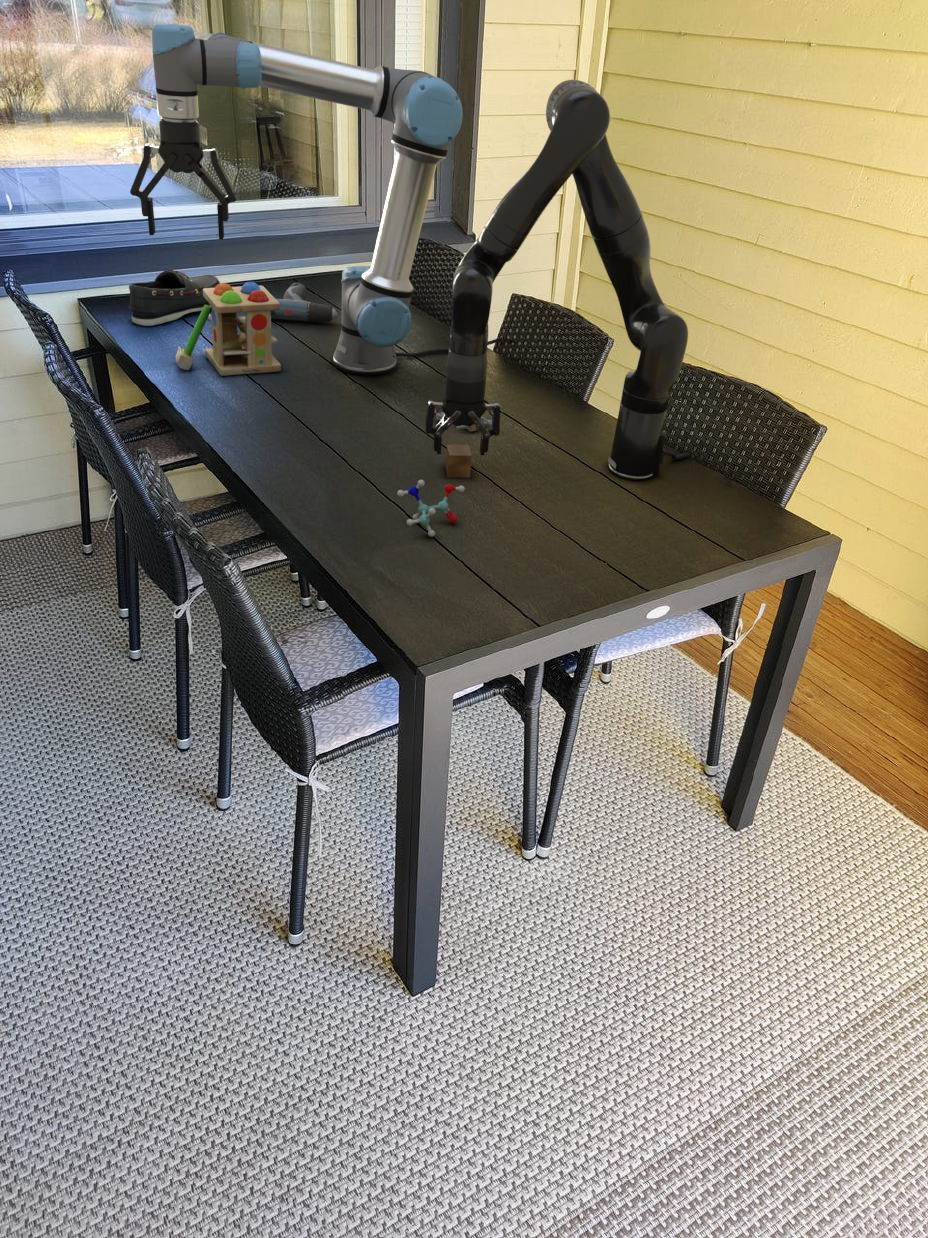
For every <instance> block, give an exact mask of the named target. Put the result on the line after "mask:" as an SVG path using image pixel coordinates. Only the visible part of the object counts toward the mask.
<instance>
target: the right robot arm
mask: <svg viewBox="0 0 928 1238" xmlns="http://www.w3.org/2000/svg"><path fill="white" fill-rule="evenodd" d="M545 119H546V124H547V127H548V129H549V131H550V132H549V134H548V137H547V139H546V141H545V143H544V145H543V147H542V149H541V151H540V152H539V154H538V156H537V157H536V159H535V161H534V162H533V163H532V165H530V167H529V169H527V171H526V172H525V173H524V174H523V176H522V177H521V178H519V180H518V181H517V182H516V183H514V185H513V186H512V187H511V188H510V189H509V190H508V191H507V192H506V194H505V195H504V196H503V197H502V198H501V200H500V201H499V203H498V204H497V206H495V209H494V210H493V212H492V213H491V215H490V217H489V218H488V220H487V222H486V223H485V225H484V227H483V228H482V230H481V232H480V234H479V236H478V238H477V239H476V240H475V242H473V244H472V246H471V247H470V248H469V249H468V251H466V253H465V255H464V256H463V257H462V259H461V260H460V262H459V263H458V265H457V267H456V268H455V270H454V273H453V278H452V295H451V296H452V297H451V298H452V300H451V318H452V319H451V324H450V328H449V329H450V330H449V341H448V342H449V343H448V348H449V352H447V359H446V365H445V384H444V385H445V386H444V387H445V388H444V398H443V401H442V402H438V401H434V400H433V399H429V400H428V401H427V403H426V404H427V405H426V414H425V421H424V422H425V423H424V429H425V433H426V434H428V435H430V434H431V435H433V450H434V452H436V455H442V442H443V436H442V435H443V434H444V433H445V432H446V431H447V430H448V429H450V428H451V427H452V425H454V426H455V427H457V426H462V425H464V426H471V425H474V424H475V425H476V429H477V430H478V431H479V432H480V433H481V434H480V443H479V454H480V456H485V455H486V454H487V453H488V451H489V445H490V438H491V437H494V436H495V437H497V436H499V435H500V433H501V431H500V428H501V407H500V403H499V402H498V401H494V402H492V403H485V398H486V397H485V396H486V383H487V371H488V346H489V345H488V341H489V321H490V313H491V307H492V300H493V299H492V298H493V289H494V287H493V285H494V283H495V280H496V278H497V277H498V275H499V274H500V273H501V271H502V270H503V268H504V266H505V265H506V264H507V263H508V262H510V261H511V260H512V259H513V258H514V257H515V256H516V254H517V253H518V251H519V250H520V249H521V247H522V245H523V244H524V242H525V241H526V239H527V238H528V236H529V234H530V233H531V231H532V230H533V228H534V226H535V225H536V223H537V222H538V220H539V219H540V217H541V216H542V215H543V212H544V211H545V210H546V208H547V207H548V206H549V204H550V203H551V202H552V200H553V199H554V197H555V196H556V195H557V194H558V192H559V191H560V190H561V188H562V187H563V186H564V185H565V183H566V182H567V181H568V180H569V178H571V176H572V177H573V180H574V184H575V187H576V190H577V194H578V199H579V201H580V205H581V208H582V211H583V214H584V216H585V220H586V223H587V226H588V229H589V233H590V236H591V237H592V240H593V242H594V245H595V248H596V250H597V253H598V256H599V258H600V260H601V262H602V265H603V267H604V270H605V272H606V275H607V276H608V279H609V281H610V283H611V285H612V288H613V290H614V291H615V294H616V297H617V301H618V303H619V308H620V312H621V315H622V319H623V324H624V328H625V331H626V334H627V337H628V339H629V341H630V343H631V344H632V345H633V346H634V347H635V348H636V349H637V350H638V351H639V352H640V353H639V358H638V361H637V366H636V369H633V370H630V371H628V372H627V373H626V375H625V377H624V381H623V387H622V393H621V398H620V405H619V408H618V409H619V410H618V415H617V421H616V425H615V430H614V436H613V442H612V448H611V453H610V456H608V460H607V463H608V466H607V467H608V470H609V471H610V473H611V474H613V475H615V476H617V477H618V478H621V479H625V480H631V481H645V480H651V478H658V474H659V470H660V465H663V463H664V458H665V456H670V457H671V459H672V460H674V461H679V460H683V459H686V458H689V457H690V453H689V452H683V453H679V454H676V453H675V452H674V451H672V450H666V449H665V448H664V446H665V441H666V437H667V432H666V431H665V430H664V427H665V423H666V417H667V414H668V413H667V412H668V407H669V403H670V398H671V394H672V390H673V387H674V386H675V384H676V383H677V381H678V379H679V377H680V373H681V369H682V365H683V362H684V359H685V354H686V351H687V346H688V341H689V328H688V323H687V322H686V320H685V319H684V318H683V317H681V316H680V315H679V314H678V313H676V312H675V311H673V310H672V309H670V308H669V307H668V306H667V305H666V304H665V302H664V301H663V299H662V297H661V296H660V293H659V291H658V289H657V286H656V284H655V281H654V279H653V276H652V271H651V253H652V251H651V239H650V234H649V231H648V228H647V225H646V222H645V219H644V216H643V213H642V211H641V210H642V209H641V208H640V205H639V203H638V201H637V199H636V196H635V195H634V192H633V190H632V188H631V187H630V185H629V183H628V181H627V179H626V177H625V175H624V174H623V172H622V170H621V169H620V167H619V165H618V163H617V161H616V159H615V158H614V155H613V153H612V149H611V148H610V144H609V140H608V137H607V132H608V130H609V127H610V122H611V113H610V107H609V105H608V103H607V101H606V100H605V97H603V95H601V94H600V93H599V92H598V91H597V90H596V89H595V88H594V87H593V86H592V85H591V84H589V83H588V82H585V81H582V80H579V79H567V80H564V81H561V82H559V83H558V84H557V85H555V87H554V88H553V90H552V91H551V92H550V94H549V96H548V98H547V102H546V107H545ZM440 409H442V410H443V412H444V413H445V415H444V416H443V417H442V419H441V420H439V422H438V423H437V424H436V425H434V417H435V415H436V414H437V413H439V412H440ZM486 411H487V412H488V414H489V416H491V420H492V426H486V425H485V423H484V422H485V421H484V420H482V418H481V417H482V416H484V414H485V413H486Z"/></svg>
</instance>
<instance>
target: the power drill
mask: <svg viewBox="0 0 928 1238" xmlns="http://www.w3.org/2000/svg"><path fill="white" fill-rule="evenodd" d="M307 295H308V290H307V287H306V285H304V284H303V283H301V282H293V283H292V284H291V285H290V286H289V287H288V288H287V289H286V291H285V292H284V294H283V297H282V298H275V299H276V300H277V301H278V302H279V303H280V310H271V319H274V320H275V319H276V320H283V321H294V322H295V321H297V322H332V321H333V320H334V319H336V318H337V317H338V312H337V311H336V308H334V307H333V306H332V305H331V304H324V303H317V302H313V301H307V300H305V299H306V297H307Z"/></svg>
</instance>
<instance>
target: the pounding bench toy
mask: <svg viewBox="0 0 928 1238" xmlns="http://www.w3.org/2000/svg"><path fill="white" fill-rule="evenodd" d="M203 296H204V297H205V299H206V300H207V301H208V302H209V304H210V305H211V307H210V306H208V305H204V307H203V309H202V311H200V313H199V316H198V318H197V320H196V322H195V324H194V327H193V329H192V331H191V332H190V333H191V334H190V336H189V338H188V340H187V343H186V344H185V347H184V348H182V347H180V346H179V347H178V349H177V351H176V354H175V357H174V358H175V362H176V365H177V366H178V368H179V369H182V370H185V371H189V370H190V369H191V367H192V365H193V363H194V356H193V351H194V348H195V347H196V345H197V342H198V340H199V337H200V336H201V333H202V332H203V329H204V326H205V325H206V322H207V320H209V321H210V322H211V336H212V337H211V338H212V339H211V340H212V348H205V349H204V352H205V353H204V355H205V357H206V359H208V361H209V363H210V364H211V365H212V366H213V367H214V369H215V370H216V371H217V372H218V374H219V375H220V376H222V377H223V376H234V375H235V376H236V375H246V374H247V375H250V374H262V373H275V372H281V370H282V364H281V363H280V362H279V360H278V359H277V358H276V357H275V356H274V355H273V348H272V347H273V345H272V344H276V343H278V342H279V341H278V339H277V338H276V337H275V336H274V334H272V318H271V310H280V303H279V302H278V301H277V300H276V299H277V298H276V297H274V296H273V295H272V294H271V293H270V292H269V290H268V289H267V288H266V287H264V285H259V284H257V283H256V282H255V281H247V282H245V283H244V284H243V285H242V286H232V285H230V284H229V283H226V282H220V284H218V285H217V286H216V287H215V288H204V289H203ZM238 313H244V314H245V315H244V316H238ZM238 329H239V331H240V333H239V334H238Z"/></svg>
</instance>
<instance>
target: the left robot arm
mask: <svg viewBox="0 0 928 1238" xmlns="http://www.w3.org/2000/svg"><path fill="white" fill-rule="evenodd" d="M151 45H152V46H151V47H152V51H151V52H152V62H153V71H154V82H155V96H156V107H157V108H156V109H157V115H158V116H159V117H160V119H159V120H158V130H159V146H155V145H152V144H151V143H149V142H148V143H145V145H144V146H143V149H142V150H143V152H142V153H143V154H142V155H143V157H142V160H141V163H140V165H139V168H138V170H137V173H136V176H135V178H134V180H133V183H132V185H131V188H130V191H129V194H130V195H131V196H134V197H137V198H138V199H139V200H140V208H141V215H142V216H143V217H147V222H148V235H149V236H154V235H155V234H156V223H155V213H154V212H155V211H154V199H153V197H149V195H150V194H151V193H152V191H153V190H154V189H155V188H156V186H157V185H158V184H159V182H161V180H162V179H163V177H164V176H165V175H166V174H167V172H168V171H169V170H170V171H171V172H173V173H177V174H178V173H184V174H192V173H193V172H194V173H195V174H196V176H197V177H199V178H200V180H201V181H202V182H203V183H204V185H205V186H206V187H207V188H208V189H209V190H210V192H211V193H212V194H213V195H214V197H215V198H216V199H217V201H219V202H218V203H217V204H216V211H217V224H218V225H217V227H218V229H217V230H218V240H221V241H222V240H224V238H225V226H224V225H225V224H224V223H225V222H226V223H227V222H228V221H229V217H230V216H229V204H231V203H235V202H236V201H237V198H238V195H237V193H236V191H235V189H234V187H233V185H232V183H231V181H230V179H229V177H228V175H227V173H226V171H225V168H224V167H223V166H222V163H221V161H220V156H219V150H218V149H217V148H215V147H213V148H212V149H203V148H202V147H203V146H202V143H201V129H200V128H201V127H200V122H199V121H198V120H197V119H198V118H199V117H200V111H199V109H200V108H199V95H198V86H214V87H225V88H226V87H227V88H240V89H242V90H245V89H256V88H259V87H262V88H267V89H271V90H276V91H279V92H285V93H289V94H293V95H299V96H302V97H307V98H312V99H315V100H321V101H325V102H330V103H335V104H339V105H344V106H347V107H352V108H357V109H361V110H366V111H368V113H369V115H370V116H371V117H373V118H377V119H382V120H385V121H388V122H390V123H392V124H394V127H393V132H392V136H391V141H390V143H391V144H392V146H393V148H394V150H395V157H394V162H393V166H392V171H391V174H390V179H389V183H388V187H387V188H388V189H387V191H386V192H387V193H386V197H385V202H384V206H383V211H382V215H381V220H380V223H379V229H378V232H377V237H376V242H375V246H374V251H373V255H372V261H371V264H370V265H352V266H347V267H345V268H344V269H343V270H342V273H341V280H340V283H341V319H340V321H341V324H340V325H341V326H340V329H341V330H340V336H339V338H338V341H337V344H336V348H335V350H334V352H333V361H332V362H333V363H332V364H333V366H334V367H335V368H337V369H338V370H339V371H342V372H344V373H347V374H352V375H356V376H380V375H381V376H382V375H386V374H389V373H391V372H393V371H395V369H396V368H397V361H398V359H397V357H405V358H406V357H407V358H413V357H421V356H425V355H429V354H435V353H448V352H449V347H447V348H445V347H444V348H443V347H442V348H441V347H440V348H433V349H428V350H423V351H419V352H395V347H394V346H395V345H397V344H399V343H401V342H402V341H403V340H404V339H405V338H406V337H407V335H408V334H409V332H410V329H411V327H412V314H411V310H410V305H411V301H412V297H413V293H414V286H413V284H412V283H411V280H410V275H411V271H412V268H413V263H414V259H415V254H416V252H417V248H418V242H419V239H420V234H421V232H422V231H421V230H422V227H423V221H424V218H425V213H426V211H427V210H426V209H427V206H428V201H429V198H430V193H431V189H432V186H433V181H434V177H435V173H436V169H437V166H438V164H439V163H441V162H442V161H443V160H445V159H446V158H447V155H448V151H449V146H450V143H451V142H452V141H453V140H454V138H456V137H457V135H458V133H459V132H460V129H461V127H462V123H463V117H464V115H463V114H464V113H463V105H462V101H461V99H460V97H459V95H458V93H457V92H456V91H455V89H454V88H453V87H452V85H451V84H449V83H448V82H447V81H446V80H445V79H443V78H440V77H438V76H434V75H432V74H431V73H428V72H426V71H422V70H414V69H402V68H395V67H389V66H383V65H377V66H376V67H375V68H374V69H372V68H368V67H364V66H360V65H355V64H351V63H346V62H342V61H337V60H335V59H330V58H325V57H320V56H317V55H312V54H307V53H303V52H299V51H295V50H292V49H291V50H290V49H286V48H282V47H277V46H274V45H269V44H265V43H261V42H257V41H250V40H247V39H243V38H239V37H234V36H231V35H230V34H228V33H225V32H217V33H213V34H211V35H210V36H208V37H207V38H206V39H204V38H203V39H201V38H196V35H195V31H194V29H193V27H191V26H189V25H184V24H176V23H156V24H155V25H153V27H152V28H151ZM157 154H158V155H159V157H160V158H161V159H162V161H163V162H164V163H163V164H162V166H160V168H159V169H158V171H156V173H155V174H154V176H153V177H152V179H151V180H150V181H149V182H148V184H147V185H146V186H145V187H144V189H140V188H141V186H142V183H143V181H144V179H145V176H146V174H147V172H148V169H149V166H150V164H151V161H152V159H154V158H155V157H156V155H157ZM204 158H206V159H207V162H208V163H211V165H212V168H213V169H214V171H215V173H216V176H217V177H218V180H219V181H220V183H221V185H222V187H223V189H224V191H223V190H222V188H220V187H219V185H218V184H217V183H216V181H215V180H214V179H213V178H212V177H211V175H210V174H209V173H208V172H207V170H206V169H205V167H204V166H203V165H202V164H201V161H202V160H203V159H204ZM224 192H225V193H226V194H225V193H224ZM500 337H501V338H500ZM500 337H497V338H494V339H492V340H488V345H487V346H490V345H493V344H496V343H498V342H502V341H509V342H510V343H513V342H512V341H510V340H508V339H504V340H502V337H503V336H500ZM499 338H500V340H499Z"/></svg>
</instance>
